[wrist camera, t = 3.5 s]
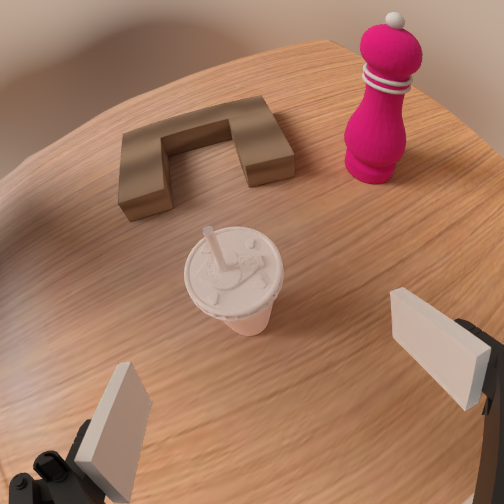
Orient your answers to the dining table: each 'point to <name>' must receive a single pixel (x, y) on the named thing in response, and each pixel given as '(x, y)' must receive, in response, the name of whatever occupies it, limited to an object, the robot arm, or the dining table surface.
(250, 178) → the notched board
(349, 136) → the pepper mill
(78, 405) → the dining table surface
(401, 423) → the dining table surface
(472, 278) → the dining table surface
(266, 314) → the smoothie
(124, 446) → the robot arm
